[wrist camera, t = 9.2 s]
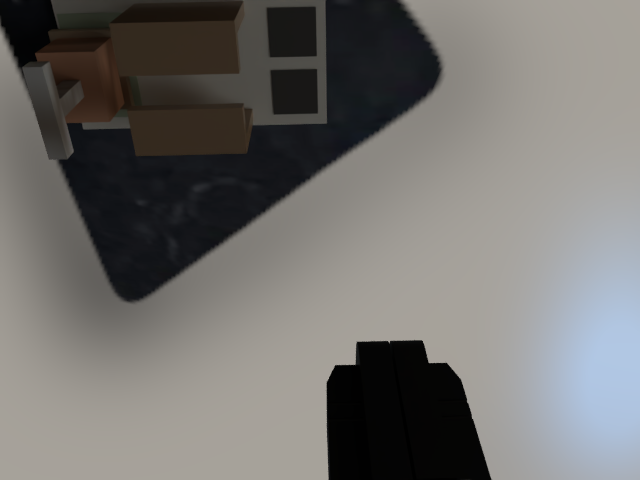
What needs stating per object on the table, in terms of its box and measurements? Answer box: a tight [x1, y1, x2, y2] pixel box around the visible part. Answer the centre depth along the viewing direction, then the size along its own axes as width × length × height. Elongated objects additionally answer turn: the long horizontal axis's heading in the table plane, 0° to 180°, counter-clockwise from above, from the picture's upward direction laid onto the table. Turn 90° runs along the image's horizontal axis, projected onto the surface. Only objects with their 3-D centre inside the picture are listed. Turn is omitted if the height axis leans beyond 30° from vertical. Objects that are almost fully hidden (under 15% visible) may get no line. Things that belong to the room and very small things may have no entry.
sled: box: [22, 28, 135, 159], centre depth 40 cm, size 6×5×10 cm
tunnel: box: [51, 0, 327, 156], centre depth 43 cm, size 10×20×8 cm, turn 91°
